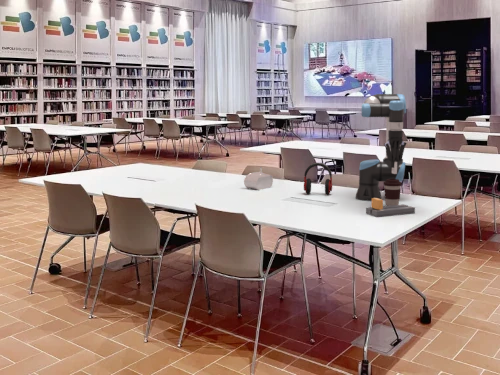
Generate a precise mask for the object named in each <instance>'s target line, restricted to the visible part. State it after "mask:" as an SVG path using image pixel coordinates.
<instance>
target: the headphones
mask: <svg viewBox="0 0 500 375" xmlns="http://www.w3.org/2000/svg"><path fill="white" fill-rule="evenodd" d="M314 167H321V168H324V169H326V171H327V172H328V174H329V178H330V179H329V178H326V179H325V183H324V193H325V195H327V196H328V195H330V193H331V192H332V191H333V174H332V170H331V169H330V167H329V166H328V165H327V164H325V163H323V162H314V163H312V164H310V165H309V166H307V168H306V169H305V172H304V175H303V176H304V177H303V181H304V182H303V190H304V191H305V194H306V195H310V194H311V192H312V180H311V178H307V175H308V172H309V171H310V170H311V169H312V168H314Z"/></svg>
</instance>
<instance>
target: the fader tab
mask: <svg viewBox="0 0 500 375" xmlns="http://www.w3.org/2000/svg"><path fill="white" fill-rule="evenodd" d="M383 206H384V200H383V199H382V198H381V199H379V198H372V200H371V208H374V209H375V210H376V209H377V210H379V209H383Z"/></svg>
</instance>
